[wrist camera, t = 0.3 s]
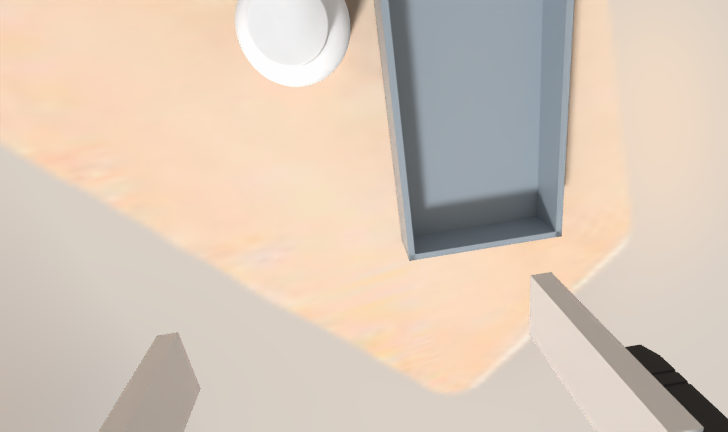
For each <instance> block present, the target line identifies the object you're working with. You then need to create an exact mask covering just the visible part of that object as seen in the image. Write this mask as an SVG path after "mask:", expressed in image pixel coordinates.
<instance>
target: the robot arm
mask: <svg viewBox="0 0 728 432" xmlns="http://www.w3.org/2000/svg"><path fill="white" fill-rule="evenodd" d="M529 335H530V337H531V338H532V340H533V341H534V343H535V344H536V345H537V347H538V348H539V350H540V351H541V353H542V354H543V356H544V357H545V358H546V360H547V361H548V363H549V364H550V366H551V367H552V368H553V370H554V372H555V373H556V374H557V376H558V377H559V379H560V380H561V382H562V383H563V385H564V386H565V387H566V389H567V390H568V392H569V393H570V395H571V396H572V398H573V399H574V400H575V402H576V403H577V405H578V406H579V408H580V409H581V411H582V412H583V413H584V415H585V416H586V418H587V419H588V421H589V422H590V424H591V425H592V426H593V428H594V429H595V431H596V432H728V419H727V418H726V417H725V416H724V415H723V414H722V413H721V412H720V411H719V410H718V409H717V408H716V407H715V406H713V405H712V404H711V403H710V402H709V401H708V400H707V399H706V398H705V397H704V396H703V395H702V394H700V392H699V391H697V390H696V389H695V388H694V387H693V386H692V385H691V384H688V382H687V380H685V378H683V377H682V376H681V375H680V374H679V373H678V372H675V369H674V368H673V367H672V366H671V365H670V364H669V363H667V362H666V361H665V360H664V359H663V358H662V357H661V356H660V355H658V354H656V353H654V352H653V351H651V350H649V349H647V348H645V347H644V346H642V345H635V346H630V347H624V346H623V345H622V344H621V343H620V342H619V341H618V340H617V339H616V338H615V337H614V336H613V335H612V334H611V333H610V332H609V331H608V330H607V329H606V328H605V327H604V326H603V325H602V324H601V323H600V322H599V320H598V319H596V318H595V316H593V315H592V314H591V312H590V311H589V310H588V309H587V308H586V307H585V306H584V305H583V304H582V303H581V302H580V301H579V300H578V299H577V298H576V297H575V296H574V295H573V294H572V293H571V292H570V291H569V290H568V289H567V288H566V287H565V286H564V285H563V284H562V283H561V282H560V281H559V280H558V279H557V278H556V277H555V276H554V275H553V274H552V273H551V272H549V273H543V274H537V275H531V284H530V321H529ZM199 391H200V386H199V384H198V382H197V379H196V376H195V374H194V371H193V369H192V366H191V364H190V361H189V359H188V356H187V354H186V351H185V349H184V346H183V344H182V341H181V339H180V337H179V334H178V333H171V334H165V335H159V336H157V337H156V338H155V340H154V342H153V343H152V345H151V347H150V348H149V350H148V352H147V353H146V355H145V356H144V358H143V360H142V361H141V363H140V365H139V366H138V368H137V370H136V371H135V373H134V374H133V376H132V378H131V379H130V381H129V383H128V384H127V386H126V388H125V389H124V391H123V392H122V394H121V396H120V397H119V399H118V401H117V402H116V404H115V406H114V407H113V409H112V411H111V412H110V414H109V416H108V417H107V419H106V420H105V422H104V424H103V425H102V427H101V429H100V430H99V432H184V429H185V427H186V424H187V422H188V419H189V416H190V414H191V411H192V409H193V406H194V404H195V401H196V399H197V396H198V393H199Z"/></svg>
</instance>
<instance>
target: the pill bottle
mask: <svg viewBox="0 0 728 432" xmlns="http://www.w3.org/2000/svg"><path fill="white" fill-rule="evenodd" d="M235 26H236V33H237V37H238V41H239V43H240V46H241V48H242V50H243V52H244V54H245V56H246V57H247V59H248V60H249V62H250V63H251V64H252V65H253V66H254V68H255V69H256V70H257V71H258V72H260V73H261V74H262V75H264V76H265V77H266V78H268V79H270V80H272V81H274V82H276V83H279V84H282V85H286V86H293V87H301V86H307V85H311V84H314V83H317V82H319V81H321V80H323V79H324V78H326V77H327V76H329V75H330V74H331V73H332V72H333V71H334V70H335V69H336V68H337V67H338V65H339V64H340V63H341V61H342V59H343V57H344V55H345V53H346V50H347V47H348V44H349V39H350V17H349V12H348V8H347V5H346V2H345V0H238V1H237V5H236V12H235Z"/></svg>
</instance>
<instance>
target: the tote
mask: <svg viewBox="0 0 728 432" xmlns="http://www.w3.org/2000/svg"><path fill="white" fill-rule="evenodd" d="M374 6H375V14H376V23H377V31H378V40H379V48H380V57H381V65H382V74H383V82H384V91H385V99H386V108H387V116H388V125H389V133H390V142H391V150H392V159H393V167H394V176H395V184H396V193H397V201H398V210H399V218H400V227H401V235H402V242H403V244H404V247H405V250H406V253H407V255H408V258H409V261H411V260H417V259H423V258H430V257H436V256H442V255H448V254H454V253H460V252H467V251H473V250H479V249H485V248H491V247H497V246H504V245H510V244H516V243H522V242H528V241H534V240H541V239H547V238H553V237H559V236H561V235H562V216H563V198H564V179H565V161H566V142H567V124H568V105H569V87H570V68H571V50H572V31H573V13H574V0H374Z"/></svg>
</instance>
